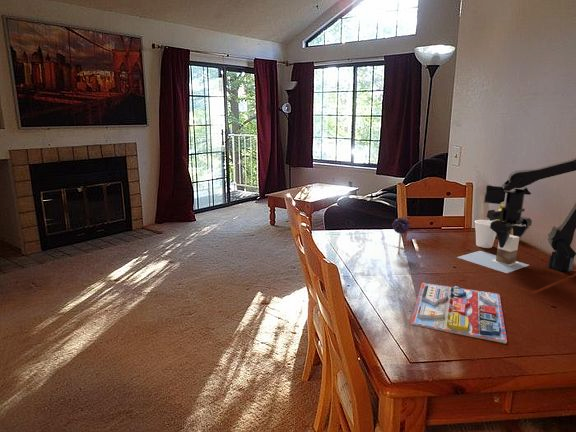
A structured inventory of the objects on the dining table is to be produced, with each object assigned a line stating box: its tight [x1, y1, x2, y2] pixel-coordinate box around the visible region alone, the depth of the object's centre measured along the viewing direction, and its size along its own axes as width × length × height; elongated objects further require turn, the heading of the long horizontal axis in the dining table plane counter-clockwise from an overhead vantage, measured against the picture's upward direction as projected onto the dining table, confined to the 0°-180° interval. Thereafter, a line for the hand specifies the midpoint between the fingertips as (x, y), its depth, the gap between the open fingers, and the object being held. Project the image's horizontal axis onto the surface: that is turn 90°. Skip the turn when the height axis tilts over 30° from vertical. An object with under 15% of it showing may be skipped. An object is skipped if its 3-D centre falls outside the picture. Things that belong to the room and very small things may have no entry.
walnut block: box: [495, 247, 518, 265], centre depth 157 cm, size 5×5×5 cm
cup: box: [474, 219, 497, 249], centre depth 176 cm, size 10×10×11 cm
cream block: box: [497, 234, 520, 252], centre depth 156 cm, size 5×5×5 cm
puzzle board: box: [410, 282, 508, 345], centre depth 119 cm, size 30×23×3 cm
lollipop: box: [391, 217, 411, 255], centre depth 165 cm, size 7×7×15 cm
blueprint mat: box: [456, 250, 530, 274], centre depth 158 cm, size 20×16×1 cm
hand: (508, 245), depth 157 cm, fingers open, 9 cm apart
